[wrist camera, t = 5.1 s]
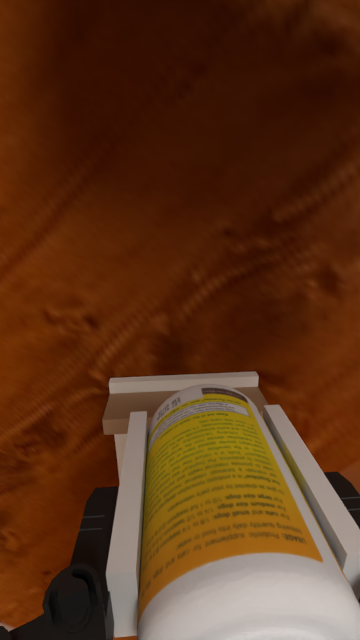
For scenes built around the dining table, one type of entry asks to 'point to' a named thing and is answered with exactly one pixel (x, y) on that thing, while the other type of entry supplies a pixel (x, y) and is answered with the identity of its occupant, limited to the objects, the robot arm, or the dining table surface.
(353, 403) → the dining table surface
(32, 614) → the dining table surface
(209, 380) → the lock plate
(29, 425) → the dining table surface
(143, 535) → the supplement bottle
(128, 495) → the robot arm
